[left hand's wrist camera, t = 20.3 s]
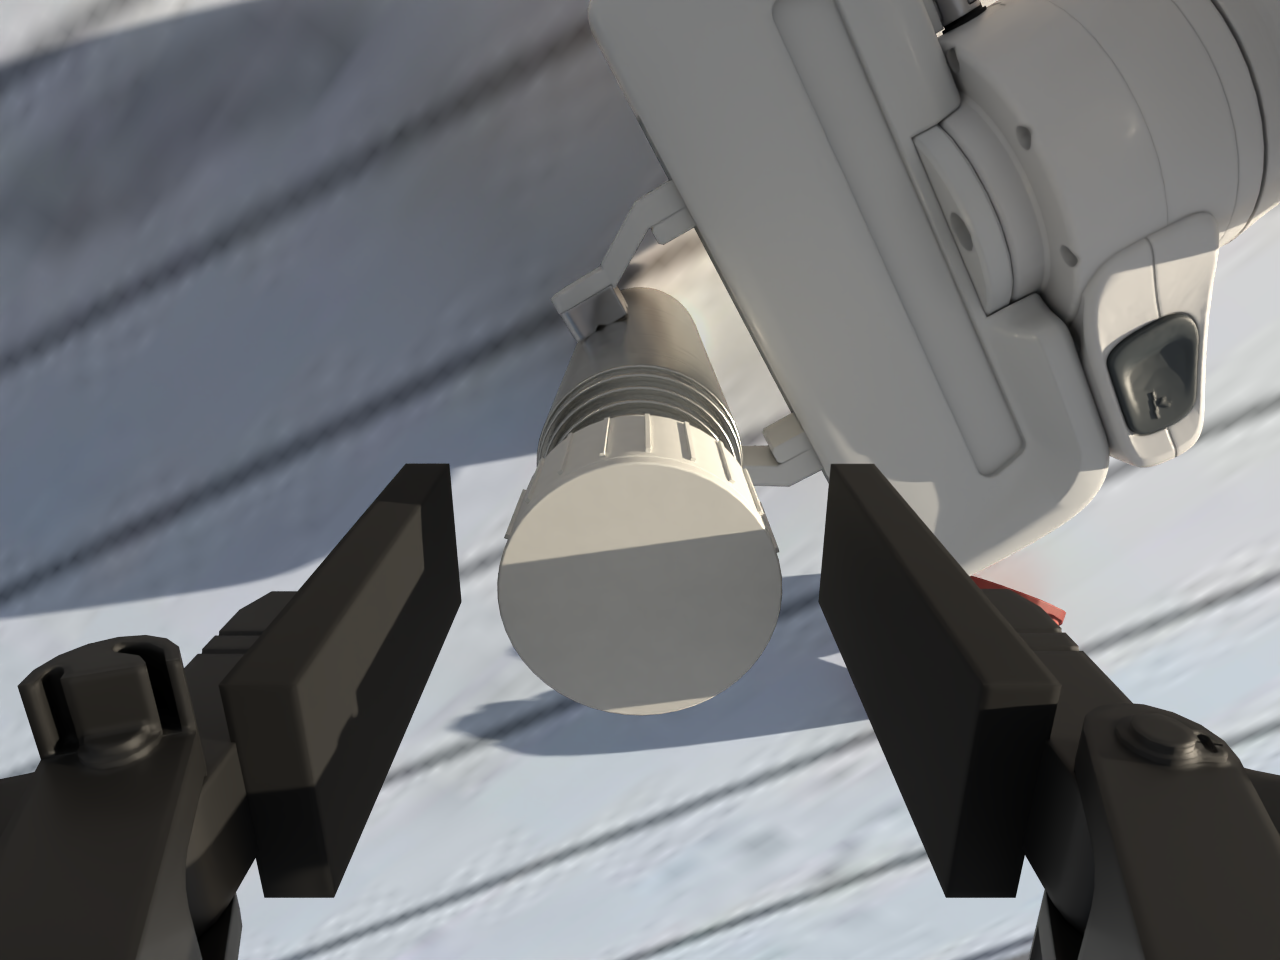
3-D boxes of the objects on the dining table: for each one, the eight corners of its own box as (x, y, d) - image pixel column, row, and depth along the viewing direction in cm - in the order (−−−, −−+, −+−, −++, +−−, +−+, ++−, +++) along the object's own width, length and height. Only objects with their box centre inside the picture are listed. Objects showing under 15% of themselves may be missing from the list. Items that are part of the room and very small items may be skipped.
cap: (795, 584, 15) (825, 661, 12) (581, 665, 15) (571, 753, 13) (706, 371, 13) (720, 412, 11) (476, 470, 14) (442, 529, 12)
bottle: (673, 267, 30) (725, 393, 12) (716, 379, 31) (821, 645, 13) (561, 314, 30) (445, 502, 12) (608, 422, 32) (567, 731, 14)
